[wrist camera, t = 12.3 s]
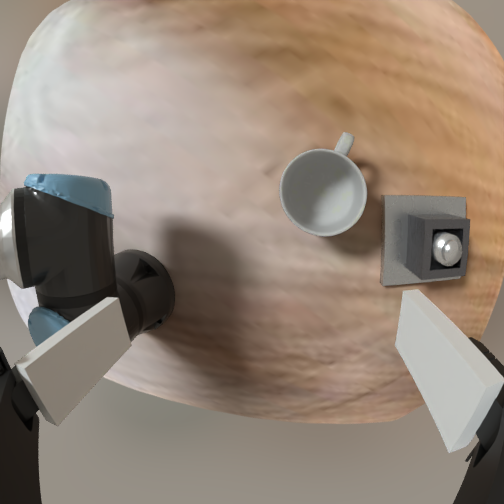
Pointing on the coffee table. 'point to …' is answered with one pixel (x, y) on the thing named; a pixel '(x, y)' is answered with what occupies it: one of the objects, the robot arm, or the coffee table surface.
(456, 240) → the grey plate with post
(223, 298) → the coffee table surface
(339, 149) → the teacup
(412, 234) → the grey square hollow block
